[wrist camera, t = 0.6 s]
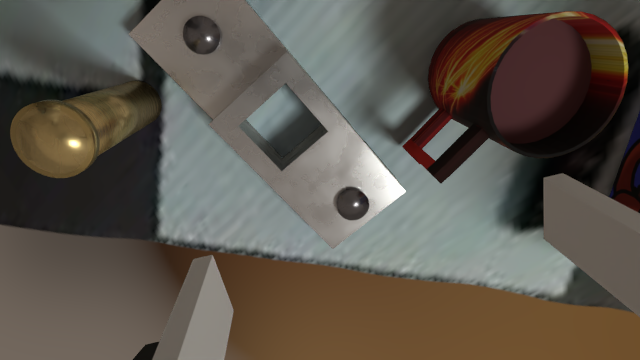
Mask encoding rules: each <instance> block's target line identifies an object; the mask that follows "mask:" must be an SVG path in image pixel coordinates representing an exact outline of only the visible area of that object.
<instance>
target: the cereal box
mask: <svg viewBox="0 0 640 360" xmlns="http://www.w3.org/2000/svg"><path fill="white" fill-rule="evenodd" d="M609 198H611V199H613V200H615V201H617V202H619V203H621V204H623V205H625V206H627V207H628V208H630V209H632V210H634V211H636V212H638V213H640V112H639V114H638V117H637V120H636V123H635V126H634V129H633V131H632V134H631V137H630V140H629V143H628V145H627V148H626V151H625V154H624V157H623V160H622V162H621V165H620V168H619V171H618V174H617V177H616V179H615V182H614V185H613V188H612V191H611V193H610V196H609Z"/></svg>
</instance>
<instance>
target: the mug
mask: <svg viewBox="0 0 640 360" xmlns="http://www.w3.org/2000/svg"><path fill="white" fill-rule="evenodd" d="M627 78H628V60H627V53H626V50H625V47H624V44H623V41H622V39H621V38H620V36H619V35H618V33H617V32H616V30H615V29H614V28H613V27H612V26H611V25H610V24H608V23H607V22H606V21H605V20H603V19H601V18H599V17H597V16H595V15H593V14H589V13H585V12H571V11H566V12H555V13H543V14H532V15H520V16H509V17H497V18H486V19H478V20H473V21H469V22H467V23H464V24H462V25H460V26H458V27H457V28H456V29H454V30H453V31H451V32H450V33H449V34H448V35H447V36H446V37H445V38H444V39H443V40H442V42H441V43H440V44H439V46H438V47H437V49H436V51H435V53H434V55H433V57H432V60H431V63H430V67H429V75H428V82H429V90H430V93H431V96H432V99H433V101H434V102H435V104H436V106H437V107H438V108H439V110H438V111H437V112H436V113H435V114H434V115H433V116H432V117H431V118H430V119H429V120H428V121H427V122H426V123H425V124H424V125H423V126H422V127H421V128H420V129H419V130H418V131H417V133H416V134H415V135H414V136H413V137H412V138H411V139H410V140H408V141H407V142H406V143H405V144H404V145H403V146H402V147H403V148H404V149H405V150H406V151H407V152H408V153H409V154H410V155H411V156H412V157H413V158H414V159H415V160H416V161H417V162H418V163H419V164H422V165H423V166H424V167H425V168H426V169H427V170H428V171H429V172H430V173H431V174H432V175H433V176H434V177H435V178H436V179H437V180H438V181H439V182H440V183H442V182H443V181H444V180H446V179H447V178H448V177H449V176H450V175H451V174H452V173H453V172H454V171H455V170H456V169H457V168H458V167H459V166H460V165H461V164H462V163H463V162H464V161H466V160H467V159H468V158H469V157H470V156H471V155H472V154H473V153H474V152H475V151H476V150H477V149H478V148H479V147H480V146H481V145H482V144H483V143H484V142H485V141H486V140H487V139H488V138H490V139H491V140H493V141H495V142H497V143H499V144H501V145H503V146H505V147H507V148H509V149H511V150H513V151H515V152H517V153H519V154H522V155H524V156H528V157H534V158H551V157H556V156H561V155H564V154H567V153H569V152H572V151H574V150H576V149H578V148H580V147H581V146H583V145H585V144H586V143H588V142H589V141H590V140H591V139H593V138H594V137H595V136H596V135H598V134H599V133H600V132H601V131H602V129H603V128H604V127H605V126H606V125H607V124H608V123H609V121H610V120H611V118H612V117H613V115H614V114H615V112H616V111H617V109H618V107H619V105H620V102H621V100H622V98H623V96H624V92H625V88H626V84H627ZM451 119H453V120H455V121H457V122H459V123H461V124H463V125H465V126H466V127H468V129H467V130H466V131H465V132H464V133H463V134H462V135H461V136H460V137H459V138H458V139H457V140H456V141H455V142H454V143H453V144H452V145H451V146H450V147H449V148H448V149H447V150H446V151H445V152H444V153H443V154H442V155H441V156H440V157H439V158H438V159H437V160H436V161H435V160H434V159H432V158H431V157H430V156H429V155H428V154H427V153H426V152H424V151H423V150H422V148H423V147H424V146H425V145H426V144H427V143H428V142H429V141H430V140H431V139H432V138H433V137H434V136H435V135H436V134H437V133H438V132H439V131H440V130H441V129H442V128H443V127H444V126H445V125H446V124H447V123H448V122H449V121H450V120H451Z"/></svg>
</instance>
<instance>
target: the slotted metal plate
mask: <svg viewBox="0 0 640 360" xmlns="http://www.w3.org/2000/svg"><path fill="white" fill-rule="evenodd" d="M129 35H130V36H131V37H132V38H133V39H134V40H135V41H136V42H137V43H138V44H139V45H140V46H141V47H142V48H143V49H144V50H145V51H146V52H147V53H148V54H149V55H150V56H151V57H152V58H153V59H154V60H155V61H156V62H157V63H158V64H159V65H160V66H161V67H162V68H163V69H164V70H165V71H166V72H167V73H168V74H169V75H170V76H171V77H172V78H173V80H174V81H175V82H176V83H177V84H178V85H179V86H180V87H181V88H182V89H183V90H184V91H185V92H186V93H187V94H188V95H189V96H190V97H191V98H192V99H193V100H194V101H195V102H196V103H197V104H198V105H199V106H200V107H201V108H202V109H203V110H204V111H205V112H206V113H207V114H208V115H209V116H210V117H211V118H212V119H213V120H212V121H211V122H210V124H209V125H210V126H211V127H212V128H213V129H214V130H215V131H216V132H217V133H218V134H219V135H220V136H221V137H222V138H223V139H224V140H225V141H226V142H227V143H228V144H229V145H230V146H231V147H232V148H233V149H234V150H235V151H236V152H237V153H238V154H239V155H240V156H241V157H242V158H243V159H244V160H245V161H246V162H247V163H248V164H249V165H250V166H251V167H252V168H253V169H254V170H255V171H256V172H257V173H258V174H259V175H260V176H261V177H262V178H263V179H264V180H265V181H266V182H267V183H268V184H269V185H270V186H271V187H272V188H273V189H274V190H275V191H276V192H277V193H278V194H279V195H280V196H281V197H282V198H283V199H284V200H285V201H286V202H287V203H288V204H289V205H290V206H291V207H292V208H293V209H294V210H295V211H296V212H297V213H298V214H299V215H300V216H301V217H302V218H303V219H304V220H305V221H306V222H307V223H308V225H309V226H310V227H311V228H312V229H313V230H314V231H315V232H316V233H317V234H318V235H319V236H320V237H321V238H322V239H323V240H324V241H325V242H326V243H327V244H328V245H329V246H330V247H331V248H332V249H333V248H335V247H336V246H337V245H338V244H340V243H341V242H342V241H344V240H345V239H346V238H347V237H349V236H350V235H351V234H353V233H354V232H355V231H356V230H358V229H359V228H360V227H361V226H363V225H364V224H365V223H367V222H368V221H369V220H370V219H372V218H373V217H374V216H375V215H377V214H378V213H379V212H381V211H382V210H383V209H384V208H386V207H387V206H388V205H390V204H391V203H392V202H393V201H395V200H396V199H397V198H398V197H400V196H401V195H402V194H404V193H405V192H406V191H405V190H404V188H403V187H402V186H401V184H400V183H399V181H398V180H397V179H396V177H395V176H394V175H393V174H392V173H391V171H390V170H389V169H388V168H387V167H386V165H385V164H384V163H383V162H382V161H381V160H380V158H379V157H378V156H377V155H376V154H375V152H374V151H373V150H372V149H371V148H370V147H369V145H368V144H367V143H366V142H364V141H363V139H362V138H361V137H360V136H359V135H358V133H357V132H356V131H355V130H354V129H353V127H352V126H351V124H350V123H349V122H348V121H347V119H346V118H345V117H344V116H343V115H342V114H341V112H340V111H339V110H338V109H337V108H336V106H335V105H334V104H333V103H332V102H331V101H330V99H329V98H328V97H327V96H326V95H325V93H324V92H323V91H322V90H321V89H320V88H319V86H318V85H317V84H316V83H315V82H314V81H313V79H312V78H311V77H310V76H309V75H308V73H307V72H306V71H305V70H304V69H303V68H302V66H301V65H300V64H299V63H298V62H297V60H296V59H295V58H294V57H293V56H292V55H291V53H290V52H289V51H288V50H287V49H286V47H285V46H284V45H283V44H282V43H281V42H280V40H279V39H278V38H277V37H276V36H275V34H274V33H273V32H272V31H271V30H270V29H269V27H268V26H267V25H266V24H265V23H264V22H263V20H262V19H261V18H260V17H259V16H258V14H257V13H256V12H255V11H254V10H253V9H252V7H251V6H250V5H249V4H248V3H247V1H246V0H161V1H160V2H159V3H158V4H157V5H156V6H155V7H154V8H153V9H152V10H151V11H150V13H149V14H148V15H147V16H146V17H145V18H144V19H143V20H142V21H141V22H140V23H139V24H138V25H137V26H136V27H135V28H134V29H133V30H132V31H131V32H130V33H129ZM285 83H286V84H287V85H288V86H289V87H290V88H291V89H292V91H293V92H294V93H295V94H296V95H297V96H298V97H299V99H300V100H301V101H302V102H303V103H304V104H305V105H306V107H307V108H308V109H309V110H310V111H311V112H312V113H313V115H314V116H315V117H316V118H317V119H318V120H319V121H320V123H321V124H322V125H321V126H319V127H318V128H317V129H316V130H315V131H314V132H313V133H311V134H310V135H309V136H308V137H307V138H306V139H304V140H303V141H302V142H301V143H300V144H299V145H297V146H296V147H295V148H294V149H293V150H292V151H291V152H289V153H288V154H287V155H286V156H285V157H284V158H282V157H281V156H280V155H279V154H278V153H277V152H276V151H275V149H274V148H273V147H272V146H271V145H270V144H269V143H268V142H267V141H266V140H265V139H264V138H263V137H262V136H261V135H260V134H259V133H258V132H257V131H256V130H255V128H254V127H253V126H252V125H251V124H250V123H249V122H248V121H247V120H246V119H247V118H248V117H249V116H250V115H251V114H252V113H253V112H254V111H255V110H257V109H258V108H259V107H260V106H261V105H262V104H263V103H264V102H265V101H266V100H268V99H269V98H270V97H271V96H272V95H273V94H274V93H275V92H276V91H277V90H279V89H280V88H281V87H282V86H283V85H284V84H285Z"/></svg>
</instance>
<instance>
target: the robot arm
mask: <svg viewBox="0 0 640 360" xmlns="http://www.w3.org/2000/svg"><path fill="white" fill-rule="evenodd" d="M544 239H545V240H546V241H547V242H549V243H550V244H551V245H552V246H554V247H555V248H556V249H557V250H558V251H560V252H561V253H562V254H563V255H565V256H566V257H567V258H568V259H569V260H571V261H572V262H573V263H574V264H576V265H577V266H578V267H579V268H580V269H582V270H583V271H584V272H585V273H587V274H588V275H589V276H590V277H591V278H593V279H594V280H595V281H596V282H598V283H599V284H600V285H601V286H602V287H604V288H605V289H606V290H607V291H609V292H610V293H611V294H612V295H613V296H615V297H616V298H617V299H618V300H620V301H621V302H622V303H623V304H624V305H626V306H627V307H628V308H629V309H631V310H632V311H633V312H634V313H635V314H637V315H638V316H639V317H640V213H638V212H636V211H634V210H632V209H630V208H628V207H627V206H625V205H623V204H621V203H619V202H617V201H615V200H613V199H611V198H609V197H607V196H606V195H604V194H602V193H600V192H598V191H596V190H594V189H592V188H590V187H588V186H586V185H585V184H583V183H581V182H579V181H577V180H575V179H573V178H571V177H569V176H567V175H565V174H563V173H562V174H558V175H553V176H549V177H545V178H544ZM233 311H234V310H233V308H232V305H231V302H230V300H229V297H228V294H227V292H226V289H225V287H224V284H223V281H222V279H221V276H220V273H219V271H218V268H217V265H216V263H215V260H214V258H213V255H210V256H206V257H201V258H197V259H193V261H192V264H191V266H190V269H189V271H188V274H187V276H186V279H185V281H184V284H183V286H182V288H181V291H180V293H179V296H178V298H177V301H176V303H175V305H174V308H173V310H172V313H171V315H170V317H169V320H168V322H167V325H166V327H165V330H164V332H163V335H162V337H161V339H160V342H155V343H151V344H147V345H145V346H144V347H143V348H142V350H141V351H140V352H139V353H138V354H137V355H136V356H135V358H134V359H133V360H224V357H225V352H226V346H227V341H228V337H229V331H230V326H231V321H232V316H233Z"/></svg>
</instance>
